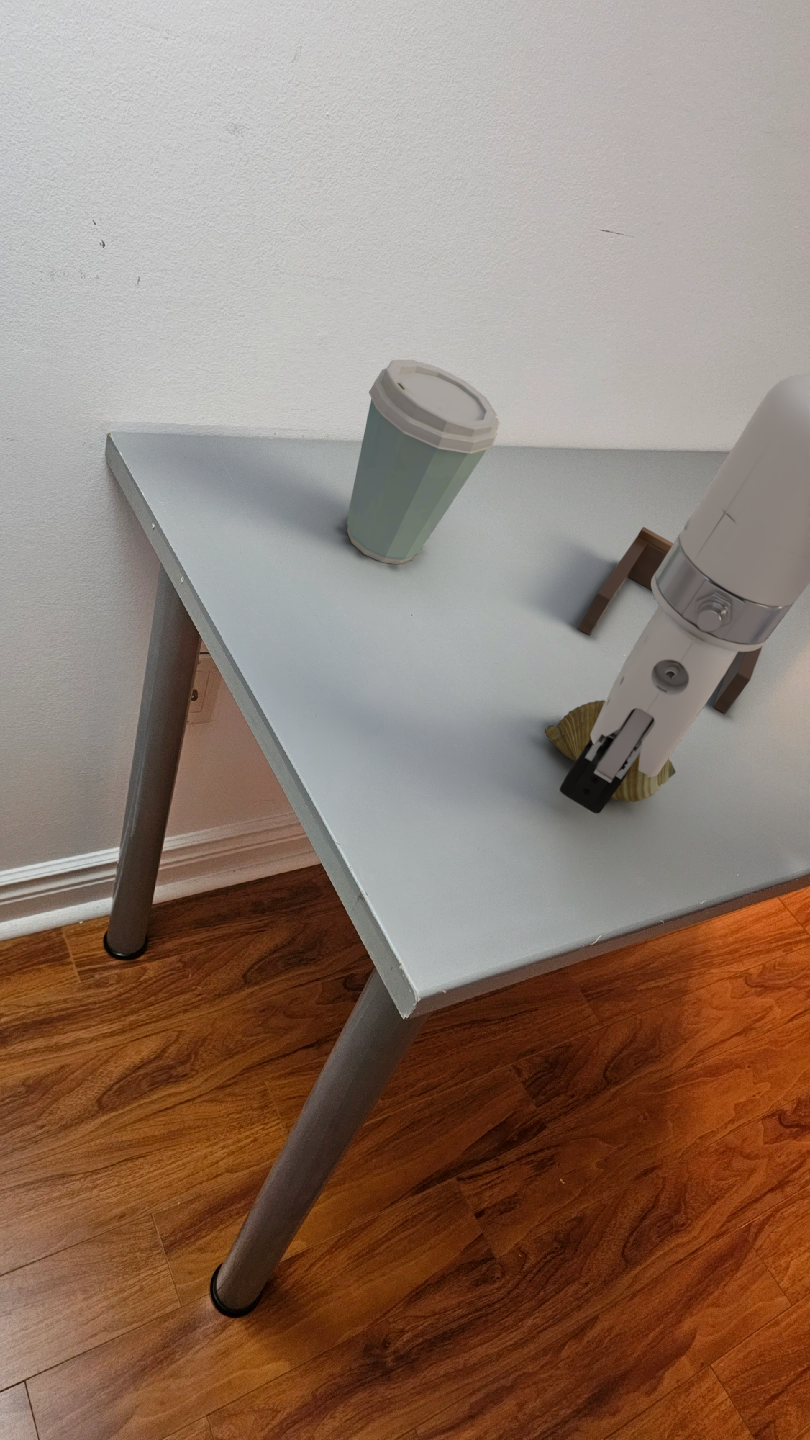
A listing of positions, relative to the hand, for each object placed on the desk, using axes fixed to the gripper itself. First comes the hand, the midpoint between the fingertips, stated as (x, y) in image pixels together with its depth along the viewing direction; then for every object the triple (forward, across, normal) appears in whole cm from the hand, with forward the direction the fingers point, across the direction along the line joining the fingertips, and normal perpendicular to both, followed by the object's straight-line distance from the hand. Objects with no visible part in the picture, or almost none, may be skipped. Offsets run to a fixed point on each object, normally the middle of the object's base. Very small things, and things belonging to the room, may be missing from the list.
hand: (581, 796), depth 73 cm
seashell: (+2, +6, 0) cm, 6 cm away
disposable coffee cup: (+2, +18, +24) cm, 30 cm away
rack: (+1, +29, -1) cm, 29 cm away
